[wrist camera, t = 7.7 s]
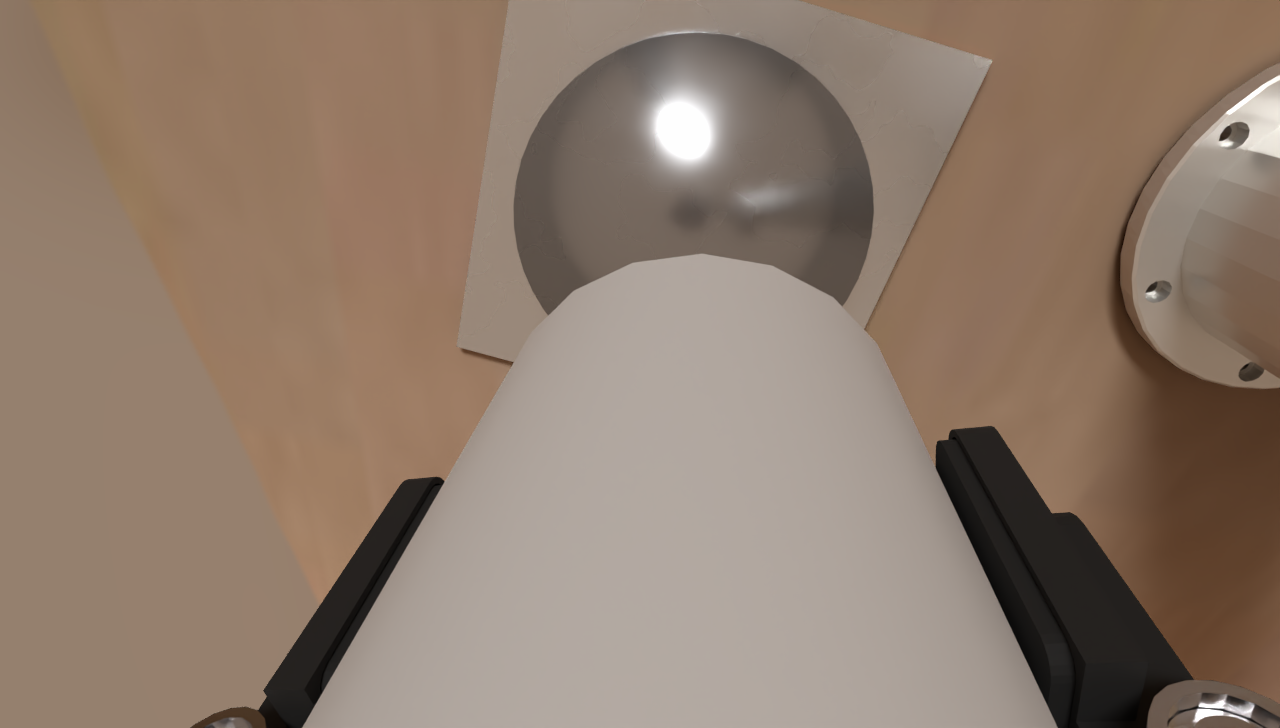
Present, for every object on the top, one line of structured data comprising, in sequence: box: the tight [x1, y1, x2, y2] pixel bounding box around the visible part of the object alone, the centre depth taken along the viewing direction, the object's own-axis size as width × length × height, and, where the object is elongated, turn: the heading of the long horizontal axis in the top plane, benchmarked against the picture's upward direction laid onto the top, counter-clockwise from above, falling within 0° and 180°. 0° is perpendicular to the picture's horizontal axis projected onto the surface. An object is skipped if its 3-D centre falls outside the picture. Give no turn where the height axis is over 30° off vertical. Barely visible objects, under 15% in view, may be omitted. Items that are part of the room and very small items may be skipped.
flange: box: [457, 0, 992, 362], centre depth 25 cm, size 16×16×2 cm
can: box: [302, 254, 1058, 728], centre depth 8 cm, size 8×8×12 cm
